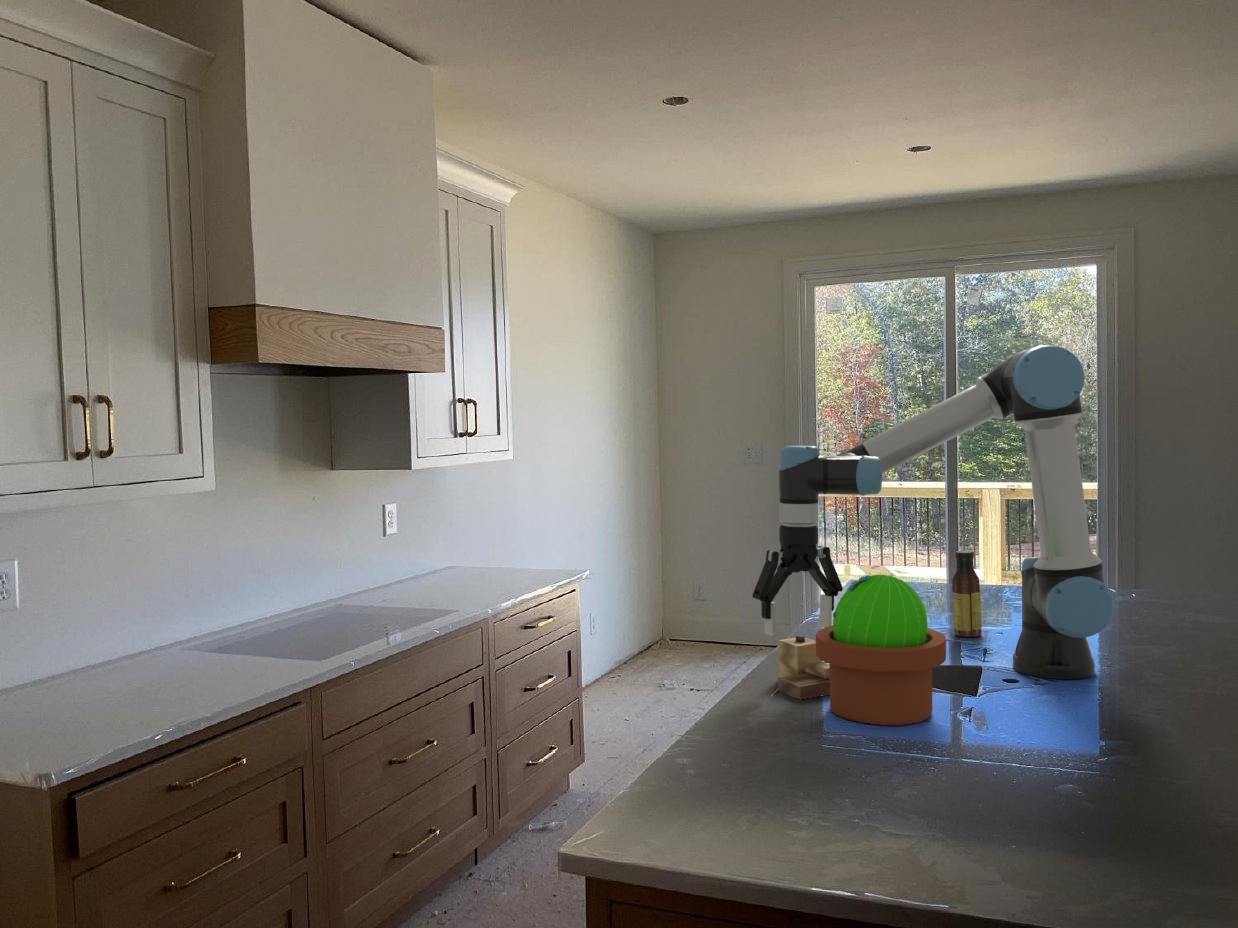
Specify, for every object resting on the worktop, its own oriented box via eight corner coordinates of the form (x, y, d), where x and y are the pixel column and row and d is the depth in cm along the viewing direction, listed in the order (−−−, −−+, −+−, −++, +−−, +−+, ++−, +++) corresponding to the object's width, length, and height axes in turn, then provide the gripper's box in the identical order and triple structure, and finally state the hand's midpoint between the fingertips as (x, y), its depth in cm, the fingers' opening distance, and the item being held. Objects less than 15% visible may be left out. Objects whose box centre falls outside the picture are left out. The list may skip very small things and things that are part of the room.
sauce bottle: (977, 632, 230) (977, 549, 229) (985, 638, 224) (984, 552, 223) (949, 632, 231) (949, 549, 230) (956, 638, 225) (955, 553, 224)
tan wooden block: (844, 690, 185) (843, 643, 184) (818, 695, 182) (818, 647, 182) (803, 675, 196) (803, 631, 195) (779, 679, 193) (778, 635, 193)
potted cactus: (957, 702, 175) (957, 565, 174) (929, 738, 157) (928, 585, 155) (839, 687, 187) (838, 558, 185) (799, 719, 168) (797, 576, 166)
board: (891, 682, 189) (891, 669, 189) (800, 700, 179) (800, 686, 179) (867, 674, 195) (866, 662, 195) (777, 690, 185) (777, 677, 185)
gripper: (836, 518, 199) (835, 621, 200) (734, 525, 188) (734, 634, 189) (861, 522, 193) (860, 628, 194) (757, 530, 181) (757, 642, 182)
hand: (798, 631), depth 191 cm, fingers open, 13 cm apart
